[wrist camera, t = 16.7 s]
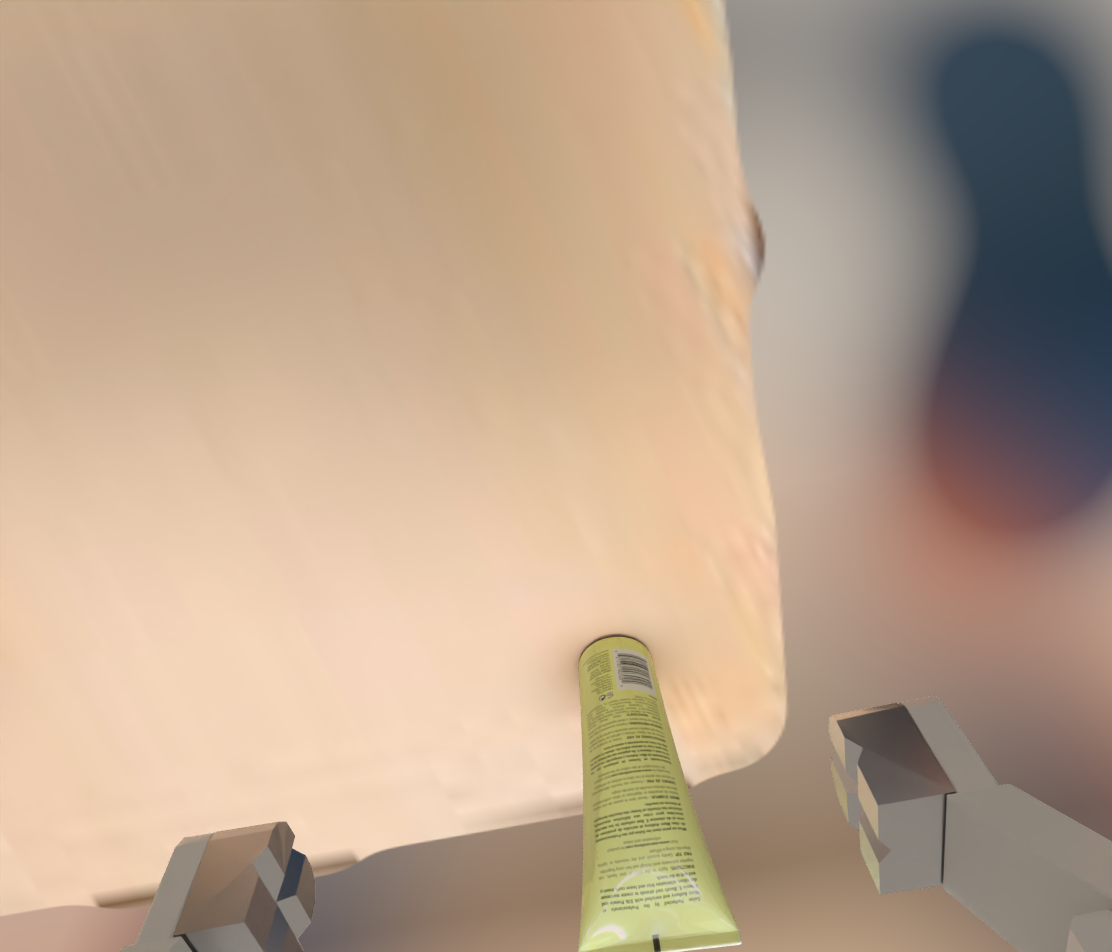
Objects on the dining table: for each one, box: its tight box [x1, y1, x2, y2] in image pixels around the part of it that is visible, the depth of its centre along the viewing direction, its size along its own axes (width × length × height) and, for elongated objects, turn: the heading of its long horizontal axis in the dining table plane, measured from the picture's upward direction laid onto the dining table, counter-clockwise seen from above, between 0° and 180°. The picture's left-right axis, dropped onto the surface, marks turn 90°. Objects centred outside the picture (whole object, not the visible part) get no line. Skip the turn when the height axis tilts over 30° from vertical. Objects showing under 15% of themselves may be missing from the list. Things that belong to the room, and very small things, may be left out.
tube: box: [578, 637, 742, 952], centre depth 45 cm, size 6×5×20 cm
